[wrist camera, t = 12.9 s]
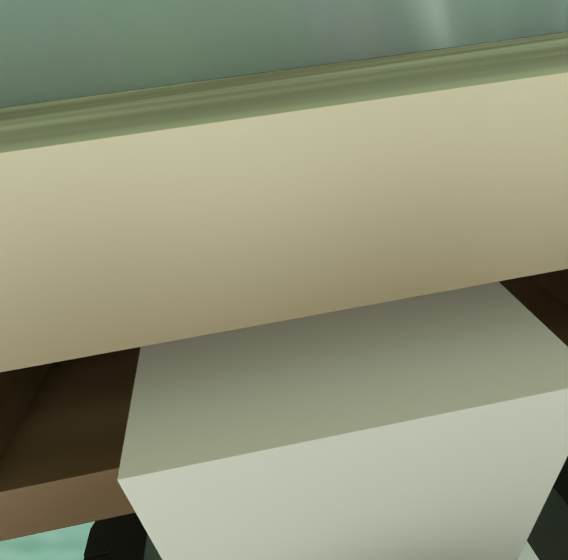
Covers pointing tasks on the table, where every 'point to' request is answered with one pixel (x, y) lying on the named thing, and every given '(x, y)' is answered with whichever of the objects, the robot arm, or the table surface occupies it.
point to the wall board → (255, 229)
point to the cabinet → (352, 433)
